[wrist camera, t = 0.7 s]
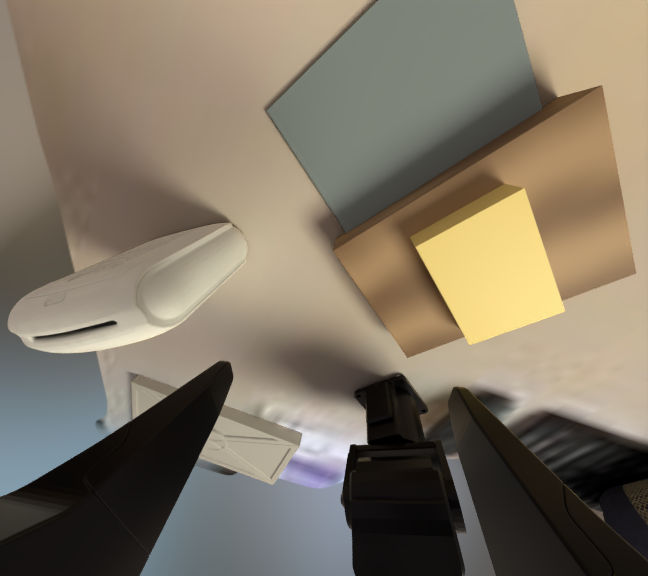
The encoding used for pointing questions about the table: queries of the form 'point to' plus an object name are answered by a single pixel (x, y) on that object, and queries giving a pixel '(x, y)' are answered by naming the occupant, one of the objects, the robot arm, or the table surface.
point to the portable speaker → (628, 513)
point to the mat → (406, 99)
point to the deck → (476, 181)
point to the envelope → (231, 436)
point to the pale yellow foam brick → (491, 265)
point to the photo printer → (130, 292)
